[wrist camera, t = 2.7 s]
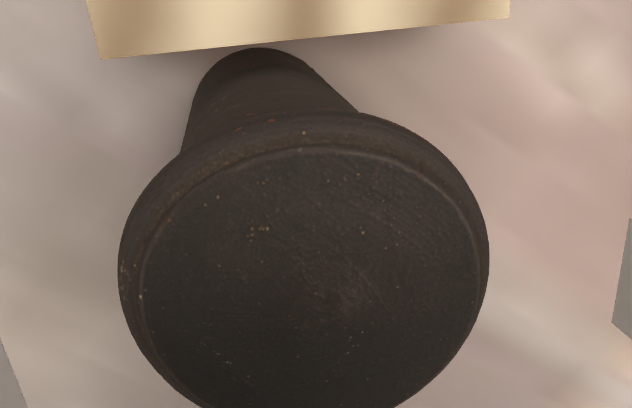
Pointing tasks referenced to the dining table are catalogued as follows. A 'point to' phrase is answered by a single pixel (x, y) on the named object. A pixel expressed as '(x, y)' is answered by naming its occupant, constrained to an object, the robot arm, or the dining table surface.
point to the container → (300, 249)
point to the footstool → (263, 21)
